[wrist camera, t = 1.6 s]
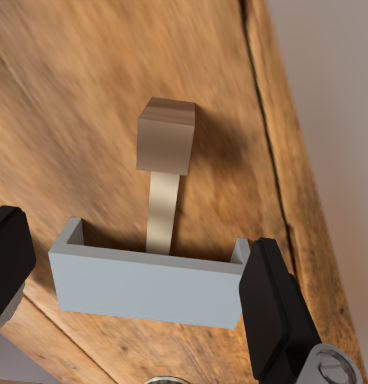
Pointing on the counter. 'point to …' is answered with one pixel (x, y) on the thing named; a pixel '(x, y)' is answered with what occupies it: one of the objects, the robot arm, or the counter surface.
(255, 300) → the robot arm
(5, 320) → the mug
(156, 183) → the cube on stick
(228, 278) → the bench
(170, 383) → the coffee can
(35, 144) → the counter surface
